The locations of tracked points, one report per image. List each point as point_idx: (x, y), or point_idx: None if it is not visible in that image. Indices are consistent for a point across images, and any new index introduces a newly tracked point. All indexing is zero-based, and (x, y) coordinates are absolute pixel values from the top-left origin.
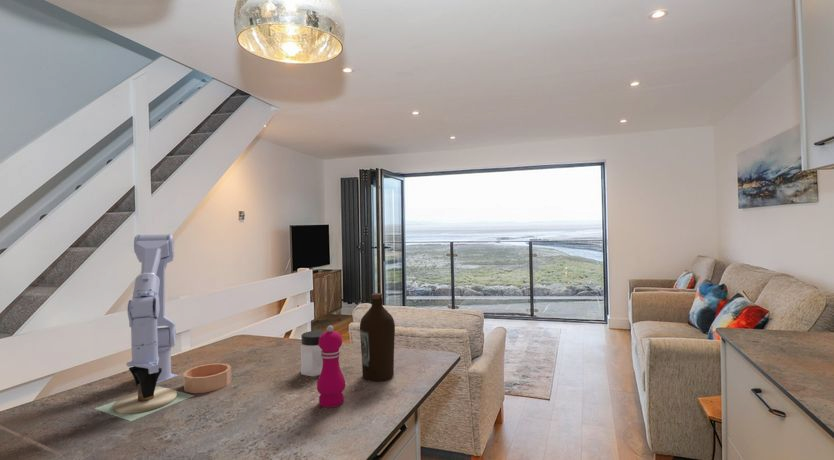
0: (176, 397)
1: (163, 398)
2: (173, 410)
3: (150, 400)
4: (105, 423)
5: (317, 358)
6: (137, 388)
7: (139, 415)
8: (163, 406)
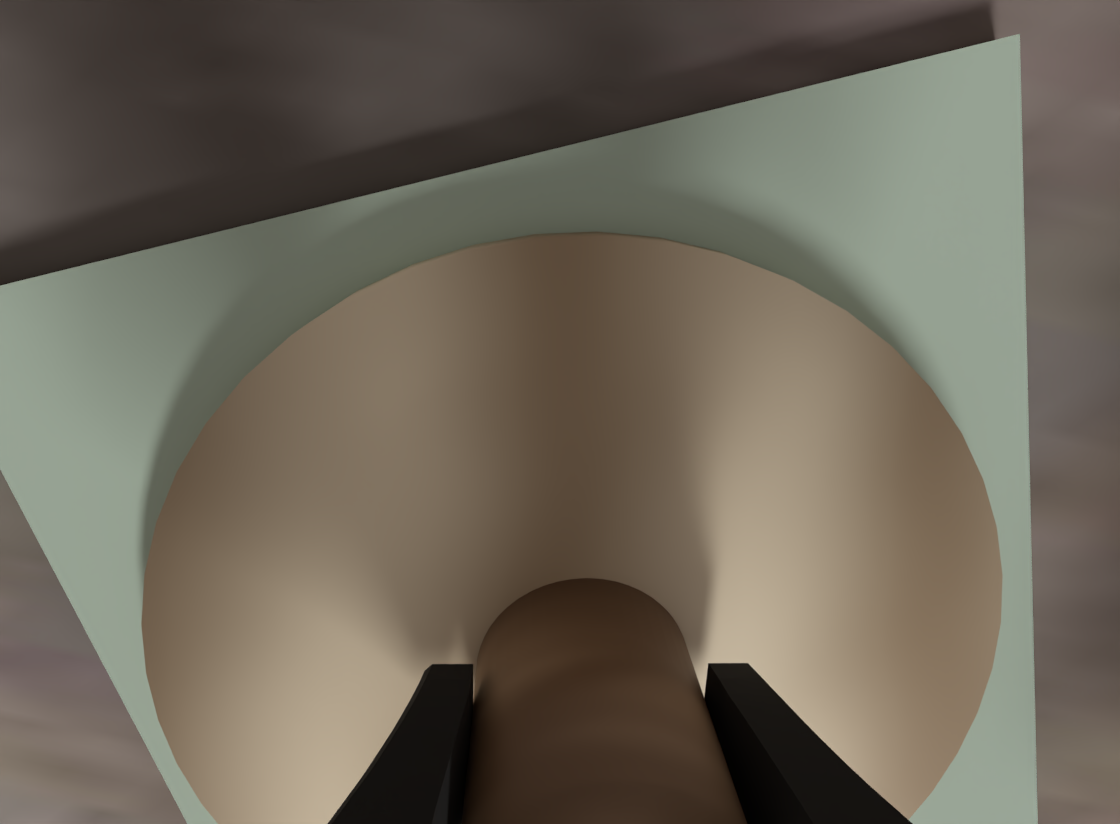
0: None
1: None
2: (45, 771)
3: None
4: (238, 18)
5: None
6: (756, 716)
7: (77, 449)
8: None
